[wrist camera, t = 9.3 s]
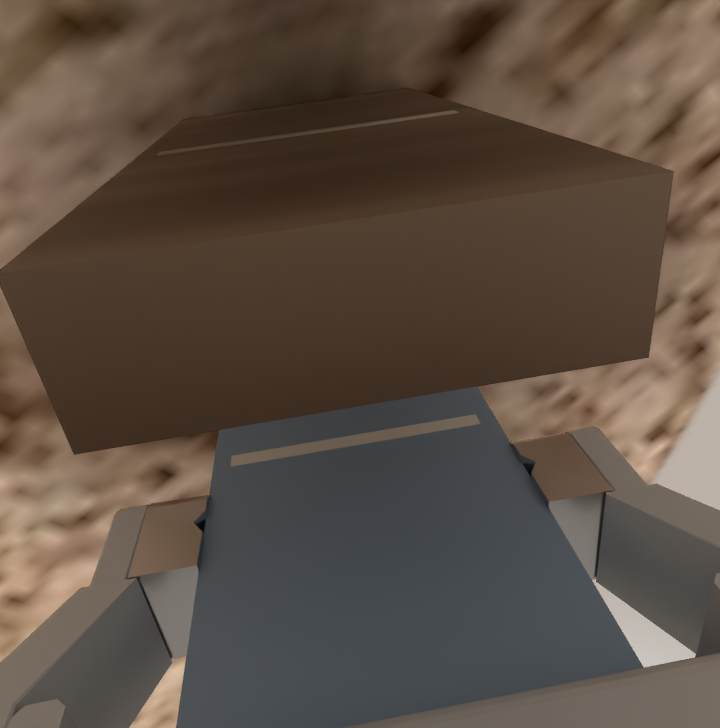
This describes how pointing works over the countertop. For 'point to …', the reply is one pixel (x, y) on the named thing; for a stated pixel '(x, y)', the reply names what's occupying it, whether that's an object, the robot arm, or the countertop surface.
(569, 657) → the domino
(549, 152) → the domino
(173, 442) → the countertop surface
